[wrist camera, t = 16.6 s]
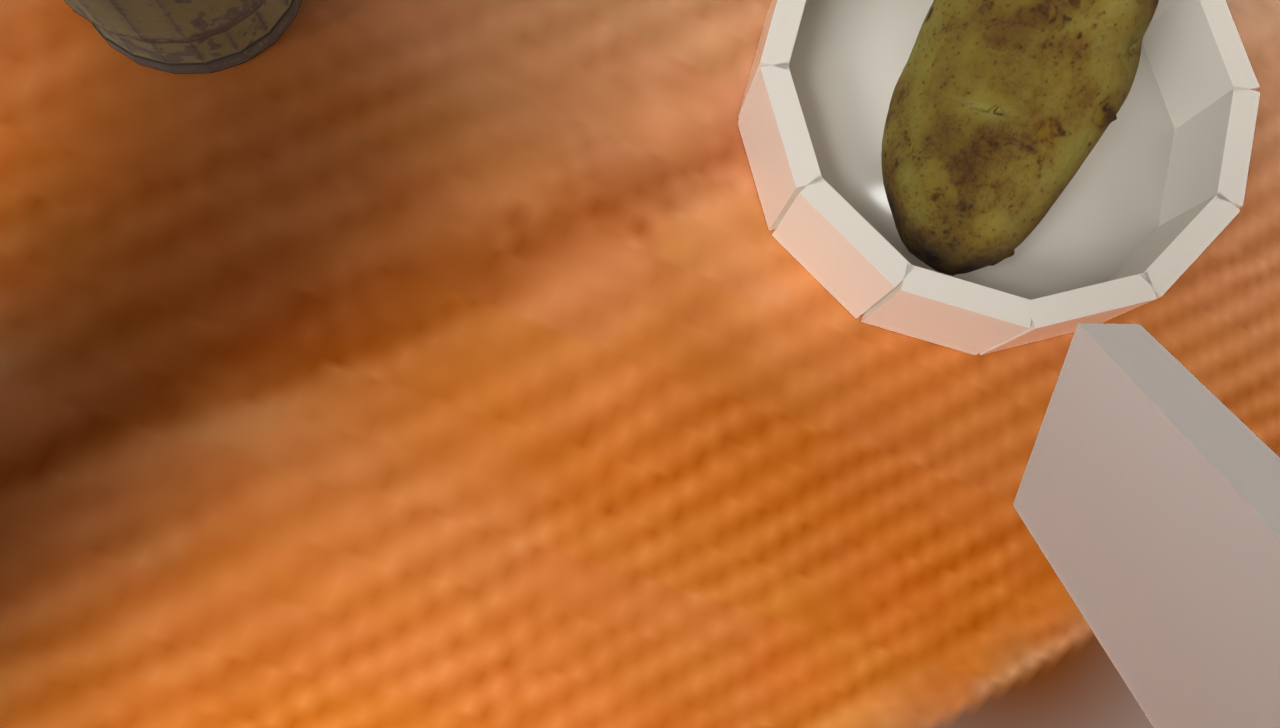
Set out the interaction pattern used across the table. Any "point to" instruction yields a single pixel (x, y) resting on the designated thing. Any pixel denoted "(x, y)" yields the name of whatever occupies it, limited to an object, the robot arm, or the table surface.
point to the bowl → (1067, 235)
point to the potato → (1001, 118)
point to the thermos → (188, 30)
